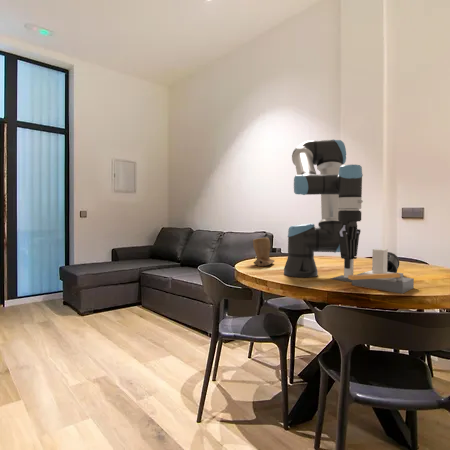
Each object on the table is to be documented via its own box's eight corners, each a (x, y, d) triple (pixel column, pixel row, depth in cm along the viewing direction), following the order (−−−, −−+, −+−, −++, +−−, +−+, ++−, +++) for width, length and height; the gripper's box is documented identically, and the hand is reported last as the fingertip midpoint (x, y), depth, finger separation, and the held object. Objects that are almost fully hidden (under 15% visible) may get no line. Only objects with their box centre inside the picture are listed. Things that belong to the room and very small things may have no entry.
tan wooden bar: (399, 275, 115) (399, 272, 115) (404, 277, 113) (404, 273, 113) (347, 278, 110) (347, 275, 110) (352, 279, 108) (352, 276, 108)
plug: (362, 285, 122) (363, 249, 122) (372, 282, 128) (372, 247, 128) (387, 289, 116) (388, 251, 115) (396, 286, 122) (397, 249, 121)
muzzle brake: (370, 282, 130) (371, 257, 130) (376, 272, 155) (377, 250, 154) (397, 285, 126) (397, 259, 125) (399, 274, 150) (399, 252, 149)
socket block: (351, 286, 124) (352, 272, 123) (364, 281, 132) (365, 268, 132) (402, 294, 111) (402, 279, 110) (413, 289, 119) (413, 274, 119)
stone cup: (256, 262, 184) (256, 236, 184) (276, 263, 180) (276, 236, 179) (247, 266, 170) (248, 238, 170) (269, 267, 166) (269, 238, 165)
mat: (330, 280, 135) (330, 278, 135) (342, 276, 143) (342, 275, 143) (355, 284, 127) (355, 282, 127) (367, 280, 135) (367, 278, 135)
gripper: (351, 209, 103) (350, 281, 104) (368, 210, 112) (367, 276, 113) (330, 210, 109) (329, 278, 110) (347, 210, 118) (346, 273, 119)
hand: (348, 277), depth 112 cm, fingers closed
